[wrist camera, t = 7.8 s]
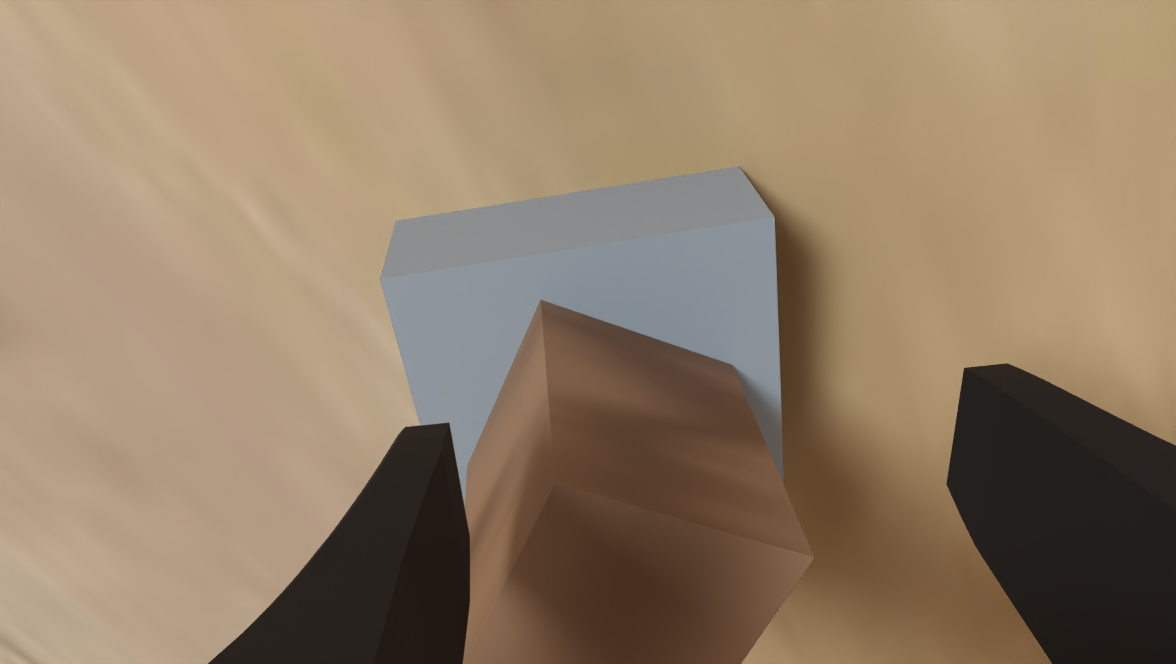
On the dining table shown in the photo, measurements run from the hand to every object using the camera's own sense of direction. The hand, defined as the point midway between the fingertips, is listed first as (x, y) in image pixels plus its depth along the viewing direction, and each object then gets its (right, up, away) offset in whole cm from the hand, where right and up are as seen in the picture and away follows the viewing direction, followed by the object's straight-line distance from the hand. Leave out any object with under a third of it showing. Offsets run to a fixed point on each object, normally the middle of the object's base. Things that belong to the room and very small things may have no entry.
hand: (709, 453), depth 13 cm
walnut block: (-1, 0, +7) cm, 8 cm away
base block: (-2, +2, +10) cm, 11 cm away
